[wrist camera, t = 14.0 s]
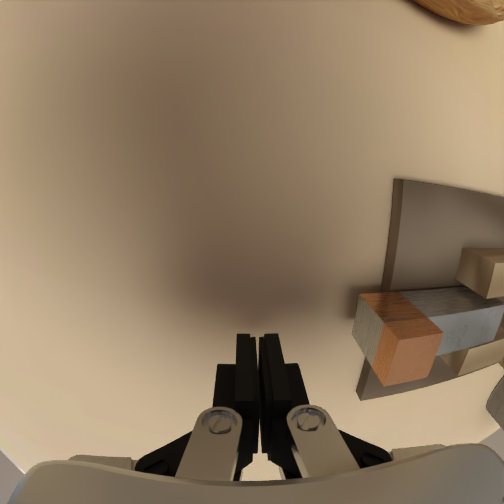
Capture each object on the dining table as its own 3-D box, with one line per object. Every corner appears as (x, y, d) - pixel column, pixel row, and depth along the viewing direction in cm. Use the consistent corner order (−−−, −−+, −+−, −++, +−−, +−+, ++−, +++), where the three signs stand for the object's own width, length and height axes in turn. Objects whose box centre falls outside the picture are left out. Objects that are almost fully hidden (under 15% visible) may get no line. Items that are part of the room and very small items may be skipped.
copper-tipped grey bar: (359, 293, 14) (398, 339, 10) (476, 285, 14) (521, 314, 10) (351, 334, 14) (383, 386, 10) (467, 318, 15) (506, 351, 11)
